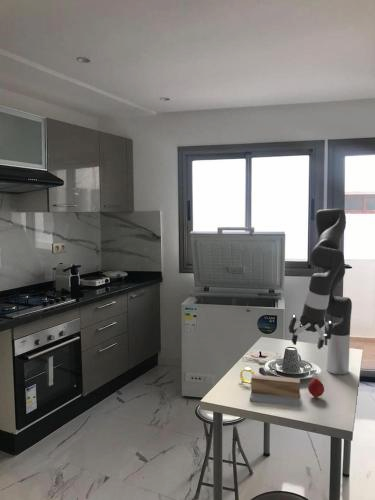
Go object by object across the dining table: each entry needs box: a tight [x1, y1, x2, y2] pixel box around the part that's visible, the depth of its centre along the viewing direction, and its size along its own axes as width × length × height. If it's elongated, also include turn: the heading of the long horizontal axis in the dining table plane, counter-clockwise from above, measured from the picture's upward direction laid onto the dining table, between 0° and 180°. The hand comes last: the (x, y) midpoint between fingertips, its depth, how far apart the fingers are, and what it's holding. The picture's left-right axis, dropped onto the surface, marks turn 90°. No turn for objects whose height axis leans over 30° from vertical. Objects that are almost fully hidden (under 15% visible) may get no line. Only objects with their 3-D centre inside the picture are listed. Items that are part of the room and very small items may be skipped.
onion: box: [307, 376, 325, 399], centre depth 163 cm, size 6×6×8 cm
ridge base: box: [249, 392, 300, 407], centre depth 164 cm, size 12×18×1 cm, turn 75°
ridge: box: [250, 373, 301, 398], centre depth 164 cm, size 4×18×6 cm, turn 75°
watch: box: [239, 366, 256, 384], centre depth 177 cm, size 6×3×6 cm, turn 61°
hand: (306, 345), depth 151 cm, fingers open, 8 cm apart
